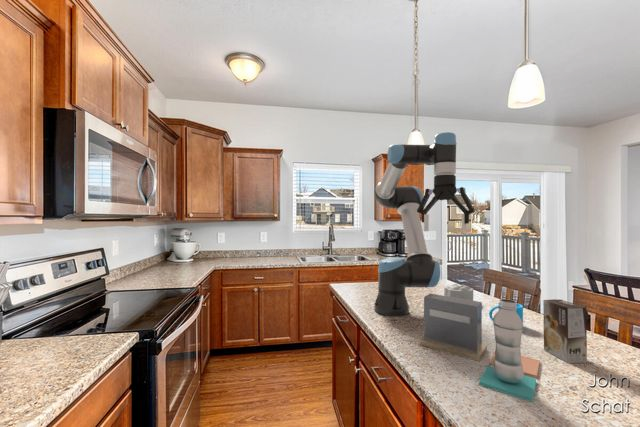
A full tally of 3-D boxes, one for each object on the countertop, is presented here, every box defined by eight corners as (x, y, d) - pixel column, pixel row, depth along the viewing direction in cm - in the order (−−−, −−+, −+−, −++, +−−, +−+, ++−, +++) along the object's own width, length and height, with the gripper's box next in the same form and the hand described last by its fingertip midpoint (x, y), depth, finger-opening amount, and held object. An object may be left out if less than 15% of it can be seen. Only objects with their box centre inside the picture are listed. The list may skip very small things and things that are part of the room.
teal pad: (478, 384, 75) (478, 381, 75) (487, 367, 84) (487, 364, 84) (532, 402, 68) (532, 398, 68) (536, 381, 77) (536, 378, 77)
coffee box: (588, 362, 87) (588, 307, 87) (568, 363, 87) (568, 308, 87) (560, 349, 96) (560, 298, 96) (542, 349, 96) (542, 299, 96)
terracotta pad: (489, 365, 85) (489, 362, 85) (496, 351, 94) (496, 349, 94) (536, 378, 78) (536, 375, 78) (539, 362, 87) (539, 360, 87)
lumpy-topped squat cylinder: (441, 300, 152) (441, 283, 152) (465, 299, 154) (466, 282, 154) (452, 306, 142) (452, 288, 142) (478, 305, 143) (478, 287, 143)
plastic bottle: (514, 390, 71) (514, 306, 72) (487, 376, 77) (487, 299, 78) (529, 383, 74) (529, 303, 75) (502, 371, 80) (502, 296, 81)
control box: (419, 344, 99) (419, 297, 99) (429, 335, 106) (429, 291, 107) (479, 361, 87) (480, 308, 87) (486, 350, 95) (486, 301, 95)
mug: (515, 322, 121) (516, 302, 121) (527, 329, 113) (527, 308, 113) (484, 320, 122) (484, 300, 122) (494, 328, 114) (494, 306, 114)
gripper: (484, 173, 107) (483, 233, 107) (416, 178, 123) (415, 230, 123) (479, 171, 101) (478, 234, 101) (408, 176, 117) (408, 230, 117)
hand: (444, 232), depth 112 cm, fingers open, 13 cm apart
